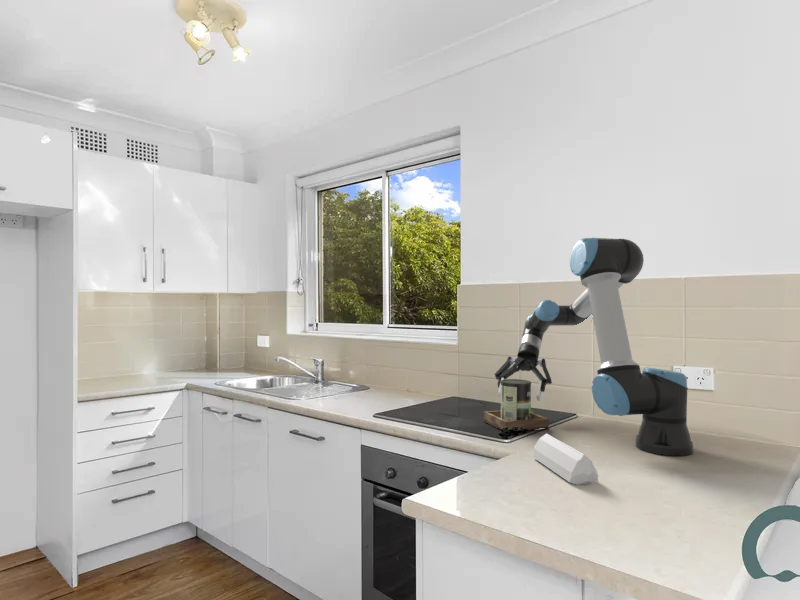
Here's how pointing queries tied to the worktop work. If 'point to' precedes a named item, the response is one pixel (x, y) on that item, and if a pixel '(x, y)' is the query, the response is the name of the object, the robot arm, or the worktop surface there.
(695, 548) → the worktop surface
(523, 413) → the coffee can
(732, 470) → the worktop surface
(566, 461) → the crystal
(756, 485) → the worktop surface
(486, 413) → the tray
